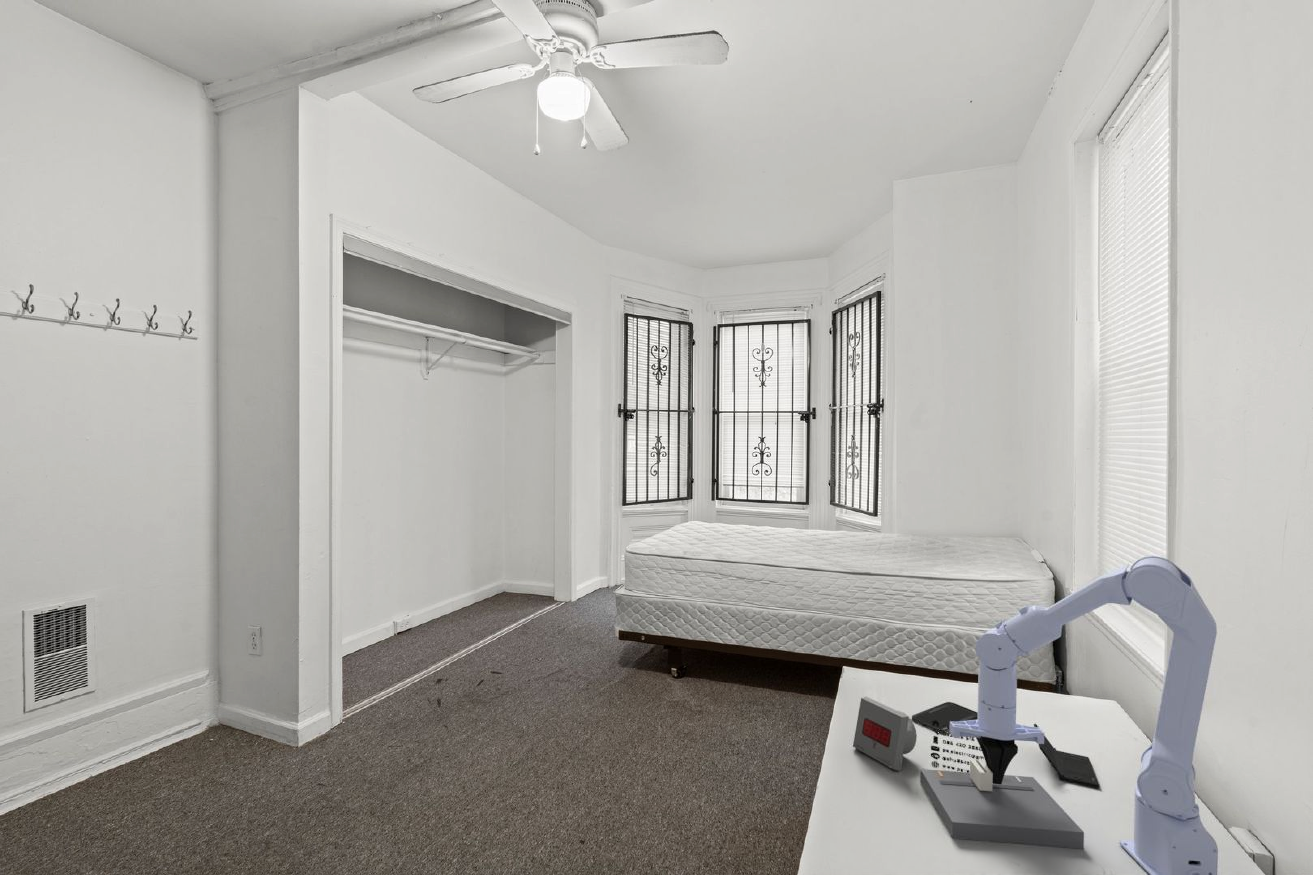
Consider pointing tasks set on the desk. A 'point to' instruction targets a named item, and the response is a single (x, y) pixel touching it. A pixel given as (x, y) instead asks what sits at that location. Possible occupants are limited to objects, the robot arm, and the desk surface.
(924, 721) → the square ic package
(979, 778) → the fader knob
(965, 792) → the grey slotted plate
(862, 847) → the desk surface
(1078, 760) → the handheld gaming console
